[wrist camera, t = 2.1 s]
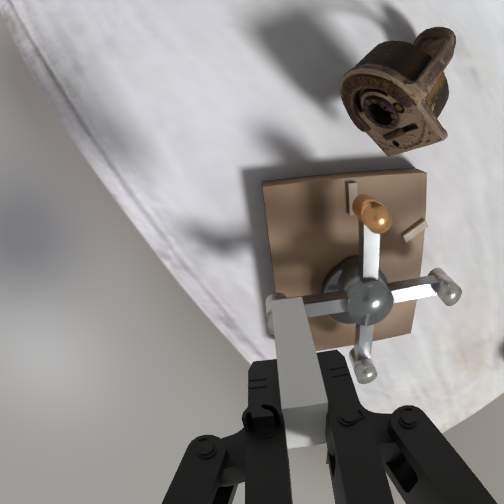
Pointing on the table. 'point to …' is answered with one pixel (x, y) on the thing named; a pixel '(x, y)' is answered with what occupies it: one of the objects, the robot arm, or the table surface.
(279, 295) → the grey star handwheel
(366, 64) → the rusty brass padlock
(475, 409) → the table surface
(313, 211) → the stand board
